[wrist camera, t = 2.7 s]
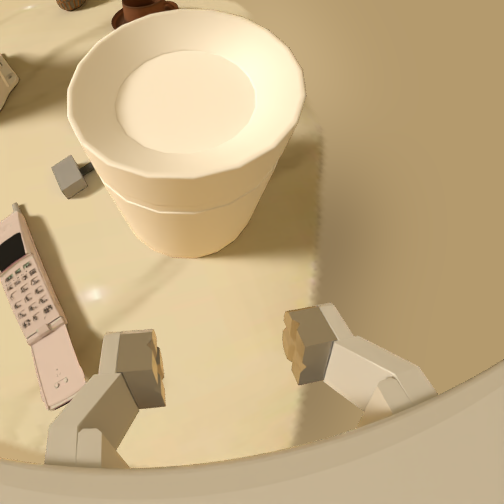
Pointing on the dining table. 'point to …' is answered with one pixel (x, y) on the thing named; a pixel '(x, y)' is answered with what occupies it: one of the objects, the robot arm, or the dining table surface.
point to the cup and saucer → (140, 10)
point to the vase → (70, 4)
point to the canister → (186, 123)
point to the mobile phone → (38, 313)
